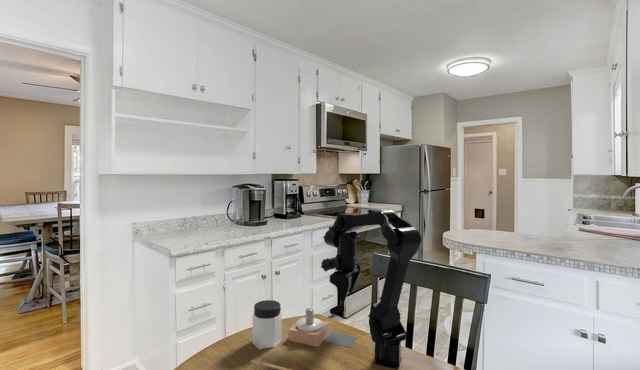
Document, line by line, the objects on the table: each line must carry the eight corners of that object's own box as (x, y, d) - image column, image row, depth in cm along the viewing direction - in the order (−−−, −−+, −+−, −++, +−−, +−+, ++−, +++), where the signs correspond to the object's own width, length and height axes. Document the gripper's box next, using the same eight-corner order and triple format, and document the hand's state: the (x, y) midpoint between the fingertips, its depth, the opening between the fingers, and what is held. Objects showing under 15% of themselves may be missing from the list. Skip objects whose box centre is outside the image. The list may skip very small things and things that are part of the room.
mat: (357, 338, 103) (357, 336, 103) (351, 349, 96) (351, 347, 96) (331, 333, 106) (331, 331, 106) (323, 343, 99) (323, 341, 99)
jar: (285, 344, 98) (286, 306, 98) (262, 353, 93) (263, 313, 93) (271, 333, 105) (271, 297, 105) (248, 341, 100) (248, 303, 100)
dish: (329, 333, 106) (329, 321, 105) (318, 348, 96) (318, 335, 96) (301, 328, 109) (301, 316, 109) (288, 342, 100) (288, 329, 100)
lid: (326, 322, 105) (326, 306, 105) (316, 333, 97) (317, 317, 97) (303, 318, 108) (303, 303, 108) (292, 328, 100) (292, 312, 100)
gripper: (333, 243, 118) (333, 285, 118) (314, 254, 100) (313, 303, 101) (363, 246, 114) (362, 289, 114) (348, 258, 96) (347, 309, 97)
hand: (346, 297), depth 106 cm, fingers open, 9 cm apart
